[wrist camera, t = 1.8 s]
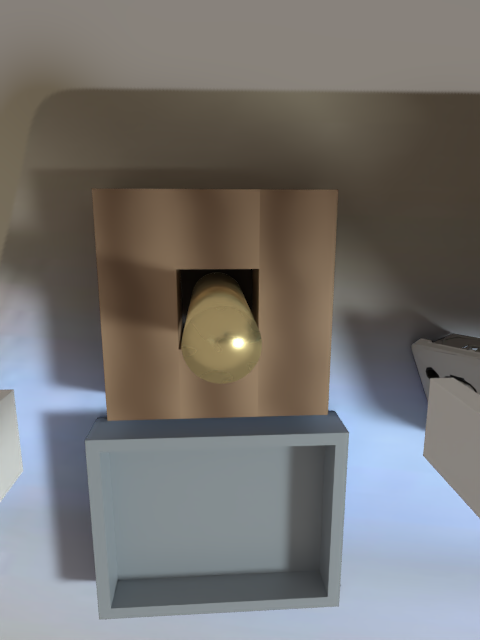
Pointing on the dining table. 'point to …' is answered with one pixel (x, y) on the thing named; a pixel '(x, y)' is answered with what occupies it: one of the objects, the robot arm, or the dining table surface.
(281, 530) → the tray
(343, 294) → the dining table surface
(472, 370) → the electrical switch
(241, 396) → the block
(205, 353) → the pin
